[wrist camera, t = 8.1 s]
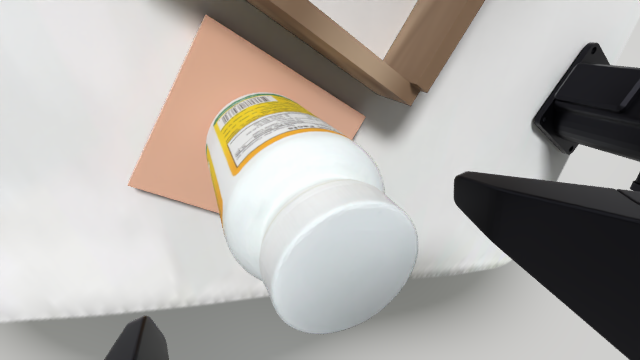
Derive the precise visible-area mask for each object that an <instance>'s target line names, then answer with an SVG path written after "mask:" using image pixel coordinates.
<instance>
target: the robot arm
mask: <svg viewBox="0 0 640 360" xmlns="http://www.w3.org/2000/svg"><path fill="white" fill-rule="evenodd" d="M535 124H536V125H537V126H538V127H539V128H540V129H541V130H542V132H543V133H544V134H545V135H546V136H547V137H548V138H549V139H550V140H551V141H552V142H553V143H554V144H555V145H556V146H557V147H558V148H559V149H560V150H561V151H562V153H565V154H568V155H569V154H571V153H572V152H573V151H574V150H575V148H576V147H577V146H578V144H581V145H585V146H588V147H592V148H595V149H598V150H602V151H605V152H609V153H612V154H615V155H619V156H622V157H626V158H629V159H633V160H636V161H639V162H640V68H634V67H624V66H613V65H610V64H609V62H608V60H607V58H606V56H605V55H604V53H603V51H602V49H601V47H600V45H599V44H598V43H588V44H587V45H586V46H585V48H584V49H583V50H582V52H581V53H580V55H579V56H578V57H577V59H576V60H575V62H574V63H573V65H572V66H571V67H570V69H569V70H568V72H567V73H566V74H565V76H564V77H563V79H562V80H561V81H560V83H559V84H558V86H557V87H556V89H555V90H554V91H553V93H552V94H551V96H550V97H549V98H548V100H547V101H546V103H545V104H544V106H543V107H542V108H541V110H540V111H539V113H538V114H537V115H536V117H535ZM630 189H631V190H633V191H628V190H621V189H617V190H615V189H612V188H604V187H595V186H587V185H577V184H570V183H562V182H553V181H545V180H537V179H528V178H520V177H512V176H503V175H495V174H487V173H478V172H470V171H468V172H464V173H462V174H460V175H457V176H456V177H455V179H454V201H455V203H456V205H457V206H458V207H459V208H460V209H461V210H462V211H463V213H464V214H465V215H466V216H467V217H468V218H469V219H470V220H471V221H472V222H473V223H474V224H475V225H476V226H477V227H478V228H479V229H480V230H481V231H482V232H483V233H484V234H485V235H486V236H487V237H488V238H489V239H490V240H491V241H492V242H493V243H494V244H495V245H496V246H497V247H499V248H500V249H501V250H502V251H503V252H504V253H506V254H507V255H508V256H509V257H510V258H511V259H513V260H514V261H515V262H516V263H517V264H518V265H520V266H521V267H522V268H523V269H524V270H525V271H527V272H528V273H529V274H530V275H531V276H532V277H534V278H535V279H536V280H537V281H538V282H539V283H541V284H542V285H543V286H544V287H545V288H547V289H548V290H549V291H550V292H551V293H552V294H553V295H555V296H556V297H557V298H558V299H560V300H561V301H562V302H563V303H564V304H565V305H566V306H568V307H569V308H570V309H571V310H572V311H573V312H575V313H576V314H577V315H578V316H579V317H580V318H582V319H583V320H584V321H585V322H586V323H587V324H589V325H590V326H591V327H592V328H593V329H594V330H596V331H597V332H598V333H599V334H600V335H601V336H603V337H604V338H605V339H606V340H607V341H608V342H610V343H611V344H612V345H613V346H614V347H615V348H617V349H618V350H619V351H620V352H621V353H622V354H624V355H625V356H626V357H627V358H628V359H629V360H640V173H639V175H638V177H637V179H636V180H635V181H633V183H632V185H631V187H630ZM104 360H169V356H168V349H167V343H166V340H165V337H164V335H163V334H162V332H161V331H160V330H159V328H158V327H157V326H156V324H155V323H154V322H153V320H152V319H151V318H150V317H149V316H142V317H140V318H137V319H135V320H133V321H131V322H129V323H128V324H127V325H126V327H125V328H124V329H123V331H122V333H121V334H120V336H119V337H118V339H117V340H116V342H115V343H114V345H113V347H112V348H111V350H110V351H109V353H108V355H107V356H106V357H105V359H104Z"/></svg>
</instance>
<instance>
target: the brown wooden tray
mask: <svg viewBox="0 0 640 360" xmlns="http://www.w3.org/2000/svg"><path fill="white" fill-rule="evenodd" d="M246 1H247V2H249V3H250V4H251V5H253V6H254V7H256V8H257V9H258V10H260V11H261V12H263V13H264V14H265V15H267V16H268V17H270V18H271V19H272V20H274V21H275V22H277V23H278V24H279V25H281V26H282V27H284V28H285V29H286V30H288V31H289V32H291V33H292V34H293V35H295V36H296V37H298V38H299V39H300V40H302V41H303V42H305V43H306V44H307V45H309V46H310V47H312V48H313V49H314V50H316V51H317V52H319V53H320V54H321V55H323V56H324V57H326V58H327V59H328V60H330V61H331V62H333V63H334V64H335V65H337V66H338V67H340V68H341V69H342V70H344V71H345V72H347V73H348V74H349V75H351V76H352V77H354V78H355V79H356V80H358V81H359V82H361V83H362V84H364V85H365V86H366V87H368V88H369V89H371V90H372V91H373V92H375V93H376V94H378V95H381V96H384V97H386V98H389V99H392V100H395V101H398V102H401V103H404V104H407V105H410V106H411V105H412V103H413V102H414V100H415V98H416V97H417V95H418V94H419V92H420V91H422V92H426V93H427V92H428V91H429V89H430V87H431V86H432V84H433V83H434V81H435V79H436V78H437V76H438V75H439V73H440V71H441V70H442V68H443V67H444V65H445V63H446V62H447V60H448V59H449V57H450V55H451V54H452V52H453V51H454V49H455V48H456V46H457V44H458V43H459V41H460V40H461V38H462V36H463V35H464V33H465V32H466V30H467V28H468V27H469V25H470V24H471V22H472V20H473V19H474V17H475V16H476V14H477V12H478V11H479V9H480V8H481V6H482V4H483V3H484V1H485V0H418V1H417V3H416V5H415V7H414V8H413V10H412V12H411V13H410V15H409V17H408V19H407V20H406V22H405V24H404V25H403V27H402V29H401V31H400V32H399V34H398V36H397V37H396V39H395V41H394V42H393V44H392V46H391V48H390V49H389V51H388V53H387V54H386V56H385V58H384V60H381V59H380V58H379V57H378V56H376V55H375V54H374V53H373V52H371V51H370V50H369V49H368V48H366V47H365V46H364V45H363V44H361V43H360V42H359V41H358V40H357V39H355V38H354V37H353V36H352V35H350V34H349V33H348V32H347V31H345V30H344V29H343V28H342V27H340V26H339V25H338V24H337V23H336V22H334V21H333V20H332V19H331V18H329V17H328V16H327V15H326V14H324V13H323V12H322V11H321V10H319V9H318V8H317V7H316V6H314V5H313V4H312V3H311V2H310V1H308V0H246Z"/></svg>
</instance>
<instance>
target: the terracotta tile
mask: <svg viewBox="0 0 640 360" xmlns="http://www.w3.org/2000/svg"><path fill="white" fill-rule="evenodd" d="M257 92H268V93H275V94H279V95H282V96H285V97H287V98H289V99H291V100H293V101H294V102H296V103H298V104H299V105H300V106H302V107H303V108H305V109H306V110H308V111H309V112H311V113H312V114H313V115H315V116H316V117H318V118H319V119H321V120H323V121H324V122H326V123H327V124H329V125H330V126H332V127H333V128H335V129H336V130H338V131H339V132H341V133H342V134H344V135H345V136H346V137H348V138H349V139H351V140H352V139H353V137H354V136H355V134H356V132H357V131H358V129H359V127H360V126H361V124H362V122H363V121H364V119H365V116H364V115H362V114H361V113H359V112H358V111H356V110H354V109H353V108H351V107H350V106H348V105H347V104H345V103H344V102H342V101H340V100H339V99H337V98H336V97H334V96H333V95H331V94H330V93H328V92H326V91H325V90H323V89H322V88H320V87H319V86H317V85H315V84H314V83H312V82H311V81H309V80H308V79H306V78H305V77H303V76H301V75H300V74H298V73H297V72H295V71H294V70H292V69H290V68H289V67H287V66H286V65H284V64H283V63H281V62H280V61H278V60H276V59H275V58H273V57H272V56H270V55H269V54H267V53H266V52H264V51H262V50H261V49H259V48H258V47H256V46H255V45H253V44H251V43H250V42H248V41H247V40H245V39H244V38H242V37H241V36H239V35H237V34H236V33H234V32H233V31H231V30H230V29H228V28H227V27H225V26H223V25H222V24H220V23H219V22H217V21H216V20H214V19H212V18H211V17H209V16H208V15H205V16H204V18H203V20H202V22H201V24H200V27H199V29H198V31H197V33H196V35H195V38H194V40H193V42H192V44H191V46H190V48H189V51H188V53H187V55H186V57H185V59H184V62H183V64H182V66H181V68H180V70H179V72H178V75H177V77H176V79H175V81H174V83H173V86H172V88H171V90H170V92H169V94H168V96H167V99H166V101H165V103H164V105H163V107H162V110H161V112H160V114H159V116H158V118H157V120H156V123H155V125H154V127H153V129H152V131H151V134H150V136H149V138H148V140H147V142H146V144H145V147H144V149H143V151H142V153H141V155H140V158H139V160H138V162H137V164H136V166H135V168H134V171H133V173H132V175H131V177H130V179H129V182H128V186H131V187H134V188H137V189H141V190H144V191H147V192H151V193H154V194H157V195H160V196H164V197H167V198H170V199H174V200H177V201H180V202H184V203H187V204H190V205H193V206H197V207H200V208H203V209H207V210H210V211H213V212H217V213H219V209H218V205H217V200H216V196H215V192H214V187H213V183H212V179H211V175H210V171H209V167H208V162H207V157H206V138H207V134H208V130H209V128H210V125H211V123H212V122H213V120H214V118H215V117H216V115H217V114H218V113H219V112H220V110H221V109H222V108H224V107H225V106H226V105H227V104H228V103H230V102H231V101H233V100H235V99H237V98H239V97H241V96H244V95H247V94H251V93H257Z"/></svg>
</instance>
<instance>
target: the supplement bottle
mask: <svg viewBox="0 0 640 360" xmlns="http://www.w3.org/2000/svg"><path fill="white" fill-rule="evenodd" d="M206 157H207V162H208V167H209V171H210V175H211V179H212V183H213V187H214V192H215V196H216V200H217V205H218V209H219V214H220V218H221V223H222V228H223V231H224V235H225V238H226V241H227V244H228V247H229V249H230V251H231V253H232V254H233V256H234V258H235V259H236V260H237V262H238V263H239V264H240V265H241V266H242V267H243V268H244V269H245V270H246V271H247V272H248V273H250V274H251V275H253V276H254V277H256V278H258V279H260V280H262V281H263V282H264V284H265V286H266V288H267V290H268V293H269V296H270V298H271V301H272V304H273V306H274V308H275V310H276V312H277V313H278V315H279V316H280V317H281V319H282V320H283V321H284V322H285V323H286V324H288V325H289V326H291V327H292V328H294V329H297V330H299V331H301V332H306V333H312V334H328V333H334V332H338V331H342V330H346V329H349V328H351V327H354V326H356V325H359V324H361V323H363V322H364V321H366V320H368V319H370V318H371V317H373V316H374V315H375V314H377V313H378V312H380V311H381V310H382V309H383V308H384V307H386V306H387V305H388V304H389V303H390V301H392V300H393V299H394V298H395V297H396V295H397V294H398V293H399V292H400V291H401V289H402V288H403V286H404V285H405V283H406V282H407V280H408V278H409V276H410V274H411V272H412V270H413V267H414V265H415V262H416V258H417V252H418V236H417V232H416V229H415V226H414V224H413V222H412V220H411V219H410V218H409V216H408V215H407V214H406V213H405V212H404V211H403V210H402V209H401V208H400V207H399V206H398V205H396V204H395V203H394V202H393V201H392V200H391V199H389V198H388V197H387V196H386V195H385V189H384V183H383V180H382V177H381V174H380V171H379V169H378V167H377V165H376V164H375V162H374V161H373V159H372V158H371V157H370V155H369V154H368V153H367V152H366V151H365V150H364V149H363V148H362V147H360V146H359V145H358V144H357V143H355V142H354V141H352V140H351V139H349V138H348V137H346V136H345V135H344V134H342V133H341V132H339V131H338V130H336V129H335V128H333V127H332V126H330V125H329V124H327V123H326V122H324V121H323V120H321V119H319V118H318V117H316V116H315V115H313V114H312V113H311V112H309V111H308V110H306V109H305V108H303V107H302V106H300V105H299V104H298V103H296V102H294V101H293V100H291V99H289V98H287V97H285V96H282V95H279V94H275V93H268V92H257V93H251V94H247V95H244V96H241V97H239V98H237V99H235V100H233V101H231V102H230V103H228V104H227V105H226V106H225V107H224V108H222V109H221V110H220V112H219V113H218V114H217V115H216V117H215V118H214V120H213V122H212V123H211V125H210V128H209V130H208V134H207V138H206Z"/></svg>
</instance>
